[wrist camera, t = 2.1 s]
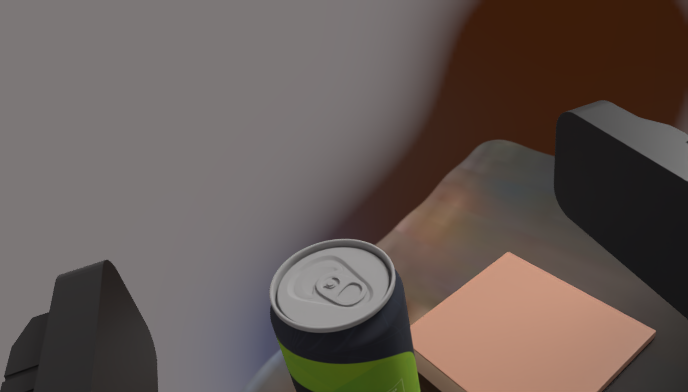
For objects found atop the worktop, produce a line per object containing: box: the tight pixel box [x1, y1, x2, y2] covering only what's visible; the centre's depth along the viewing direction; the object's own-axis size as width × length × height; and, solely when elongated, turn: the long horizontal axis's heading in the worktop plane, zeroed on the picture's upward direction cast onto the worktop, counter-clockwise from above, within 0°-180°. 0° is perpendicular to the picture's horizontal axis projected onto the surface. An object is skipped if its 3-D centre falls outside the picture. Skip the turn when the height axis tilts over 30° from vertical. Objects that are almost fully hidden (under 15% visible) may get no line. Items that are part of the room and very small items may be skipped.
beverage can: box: [269, 239, 421, 392], centre depth 29 cm, size 6×6×15 cm
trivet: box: [410, 252, 656, 392], centre depth 39 cm, size 12×12×1 cm
